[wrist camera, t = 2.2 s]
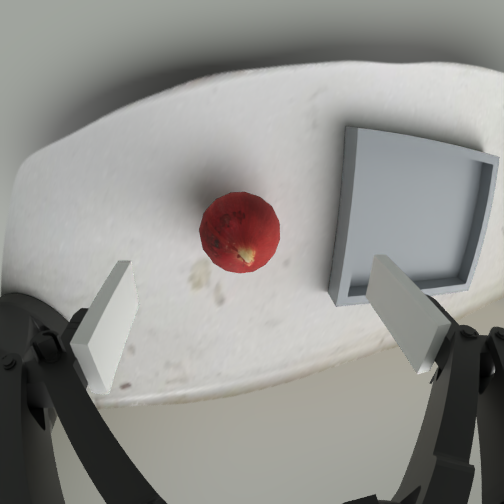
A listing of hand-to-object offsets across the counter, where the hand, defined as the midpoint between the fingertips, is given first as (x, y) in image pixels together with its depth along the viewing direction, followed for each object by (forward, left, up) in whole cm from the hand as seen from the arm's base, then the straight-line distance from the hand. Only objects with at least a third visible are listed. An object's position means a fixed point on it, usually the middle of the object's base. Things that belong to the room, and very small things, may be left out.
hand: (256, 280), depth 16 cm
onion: (0, 0, -11) cm, 11 cm away
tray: (+18, 0, -11) cm, 21 cm away
